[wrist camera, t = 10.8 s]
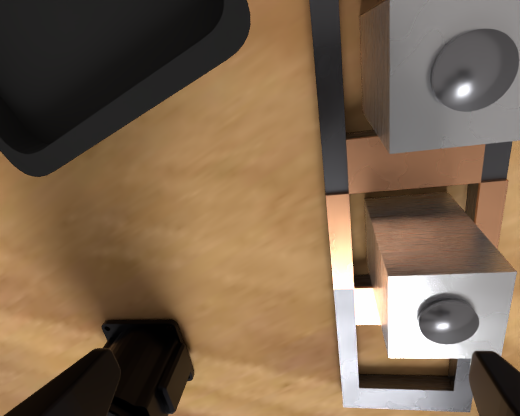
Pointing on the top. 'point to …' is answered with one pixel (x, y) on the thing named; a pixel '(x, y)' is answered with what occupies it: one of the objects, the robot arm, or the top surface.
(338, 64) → the rail
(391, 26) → the grey metal block
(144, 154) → the top surface
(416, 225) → the knobbed block
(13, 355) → the top surface
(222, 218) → the top surface
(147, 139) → the top surface
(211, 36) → the tray
